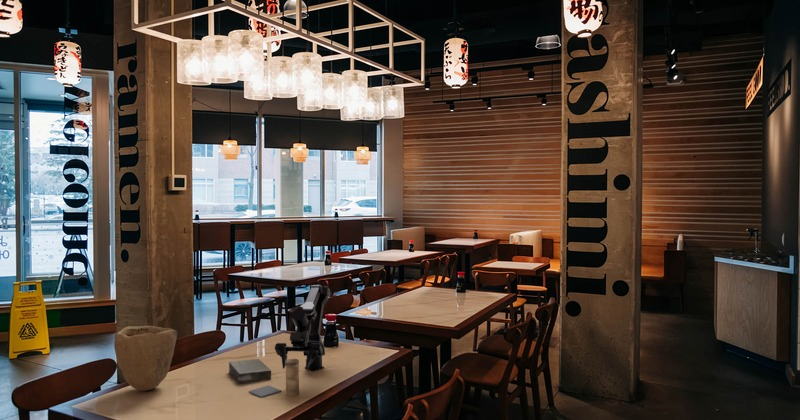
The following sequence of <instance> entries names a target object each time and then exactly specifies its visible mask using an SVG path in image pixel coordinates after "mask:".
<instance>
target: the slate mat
mask: <svg viewBox="0 0 800 420" xmlns="http://www.w3.org/2000/svg"><path fill="white" fill-rule="evenodd" d="M248 393H249V394H251V395H254V396H256V397H258V398H260V399H262V398H265V397H268V396H272V395H275V394H279V393H282V390H281V389H279V388H277V387H273V386H271V385H265V386H261V387H258V388H255V389H251V390H248Z"/></svg>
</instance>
